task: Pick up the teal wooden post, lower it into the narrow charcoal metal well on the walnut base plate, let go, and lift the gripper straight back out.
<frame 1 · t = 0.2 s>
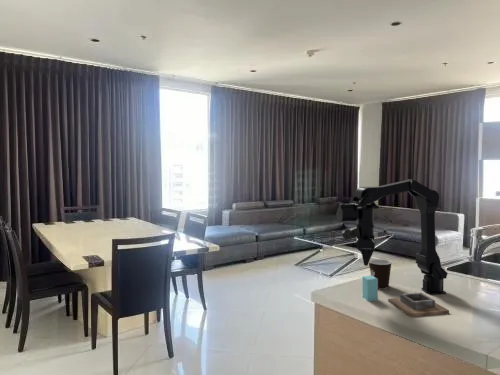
hand: (365, 262, 140), 13 cm above the counter, tool pointing down, fingers open, 9 cm apart
well block: (417, 307, 131), on the counter
teal post: (370, 298, 140), on the counter
coffee mug: (379, 285, 155), on the counter
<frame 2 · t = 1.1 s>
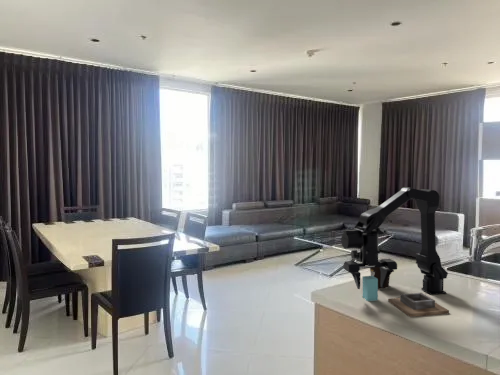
hand: (370, 288, 140), 4 cm above the counter, tool pointing down, fingers open, 9 cm apart
nothing on the counter moved.
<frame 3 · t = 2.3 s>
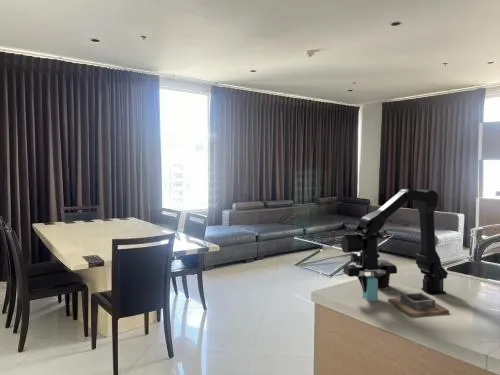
hand: (370, 292, 140), 3 cm above the counter, tool pointing down, fingers closed on teal post, 4 cm apart
teal post: (370, 298, 140), on the counter, touching gripper
everything else where it was.
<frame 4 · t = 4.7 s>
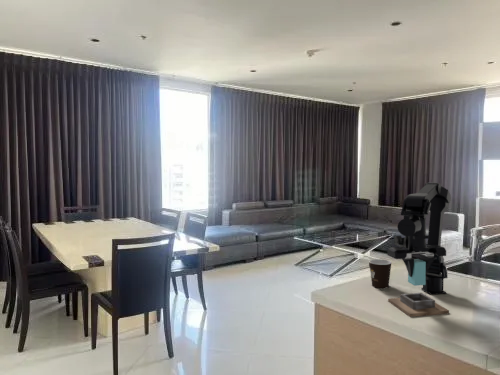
hand: (416, 276, 130), 11 cm above the counter, tool pointing down, fingers closed on teal post, 4 cm apart
teal post: (416, 283, 130), point 8 cm above the counter, touching gripper
everything else where it was.
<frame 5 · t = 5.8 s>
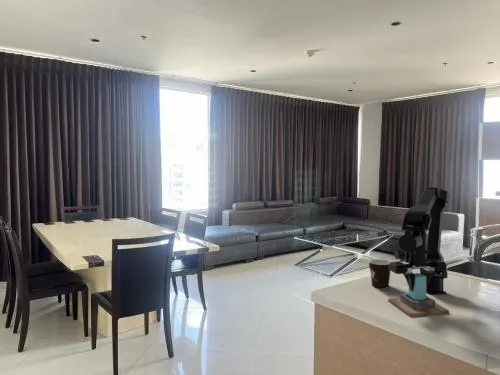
hand: (417, 290, 130), 6 cm above the counter, tool pointing down, fingers closed on teal post, 4 cm apart
teal post: (417, 297, 131), point 3 cm above the counter, touching gripper
everything else where it was.
when the fingers open (4 cm above the counter, at t = 6.9 s): teal post stays where it is, resting on well block.
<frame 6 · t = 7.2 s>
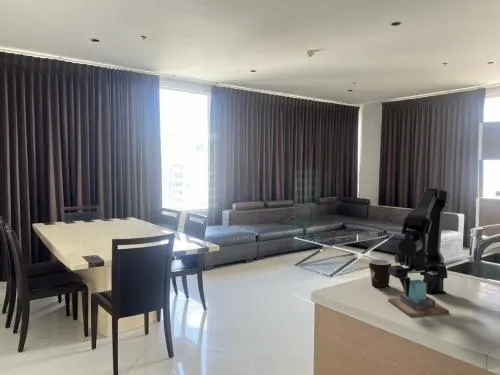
hand: (417, 294, 130), 4 cm above the counter, tool pointing down, fingers open, 7 cm apart
teal post: (417, 304, 131), point 1 cm above the counter, touching well block
everything else where it was.
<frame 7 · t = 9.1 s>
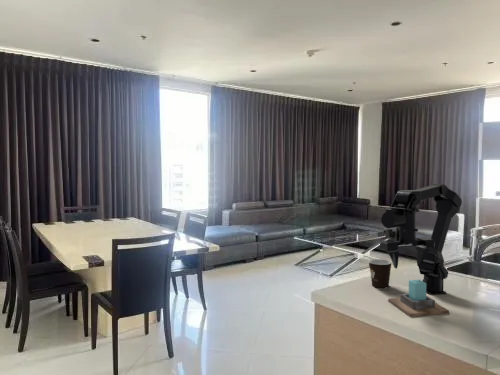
hand: (407, 267, 137), 12 cm above the counter, tool pointing down, fingers open, 9 cm apart
nothing on the counter moved.
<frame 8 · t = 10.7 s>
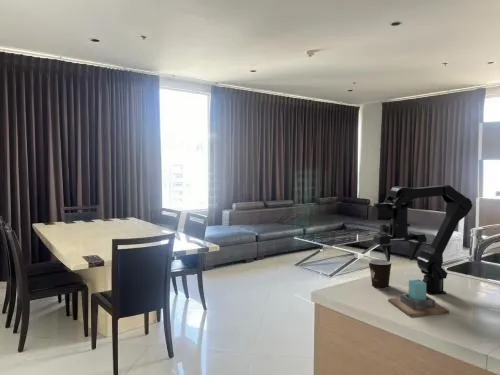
hand: (399, 260, 143), 13 cm above the counter, tool pointing down, fingers open, 9 cm apart
nothing on the counter moved.
at the end: teal post 0.0 cm off-centre on the well block, point 1.0 cm above the well block's base; teal post tilted 0°; the gripper is holding nothing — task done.
